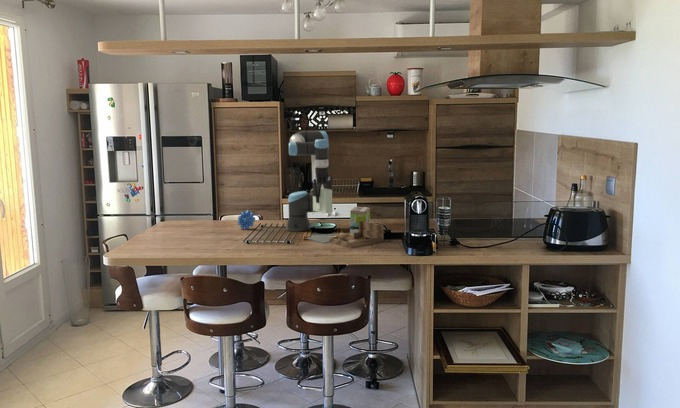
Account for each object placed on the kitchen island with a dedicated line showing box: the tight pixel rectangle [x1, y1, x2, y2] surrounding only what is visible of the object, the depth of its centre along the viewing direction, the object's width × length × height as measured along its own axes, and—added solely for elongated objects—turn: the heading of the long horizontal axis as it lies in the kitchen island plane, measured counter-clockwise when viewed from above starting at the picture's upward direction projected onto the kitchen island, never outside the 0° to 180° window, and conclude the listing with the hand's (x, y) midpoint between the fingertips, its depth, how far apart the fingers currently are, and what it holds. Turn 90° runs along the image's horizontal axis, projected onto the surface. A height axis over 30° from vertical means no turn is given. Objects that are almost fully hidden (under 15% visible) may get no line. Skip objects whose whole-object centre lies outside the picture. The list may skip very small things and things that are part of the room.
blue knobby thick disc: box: [237, 209, 256, 230], centre depth 352 cm, size 12×7×12 cm, turn 79°
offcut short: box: [338, 232, 355, 240], centre depth 310 cm, size 8×3×3 cm, turn 73°
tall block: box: [313, 188, 333, 214], centre depth 318 cm, size 12×4×13 cm, turn 40°
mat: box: [305, 234, 333, 244], centre depth 322 cm, size 16×12×1 cm
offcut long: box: [337, 238, 359, 243], centre depth 311 cm, size 12×3×3 cm, turn 49°
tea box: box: [349, 206, 371, 234], centre depth 338 cm, size 15×10×15 cm, turn 168°
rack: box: [328, 221, 384, 249], centre depth 315 cm, size 18×25×9 cm
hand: (322, 207), depth 319 cm, fingers closed on tall block, 4 cm apart
